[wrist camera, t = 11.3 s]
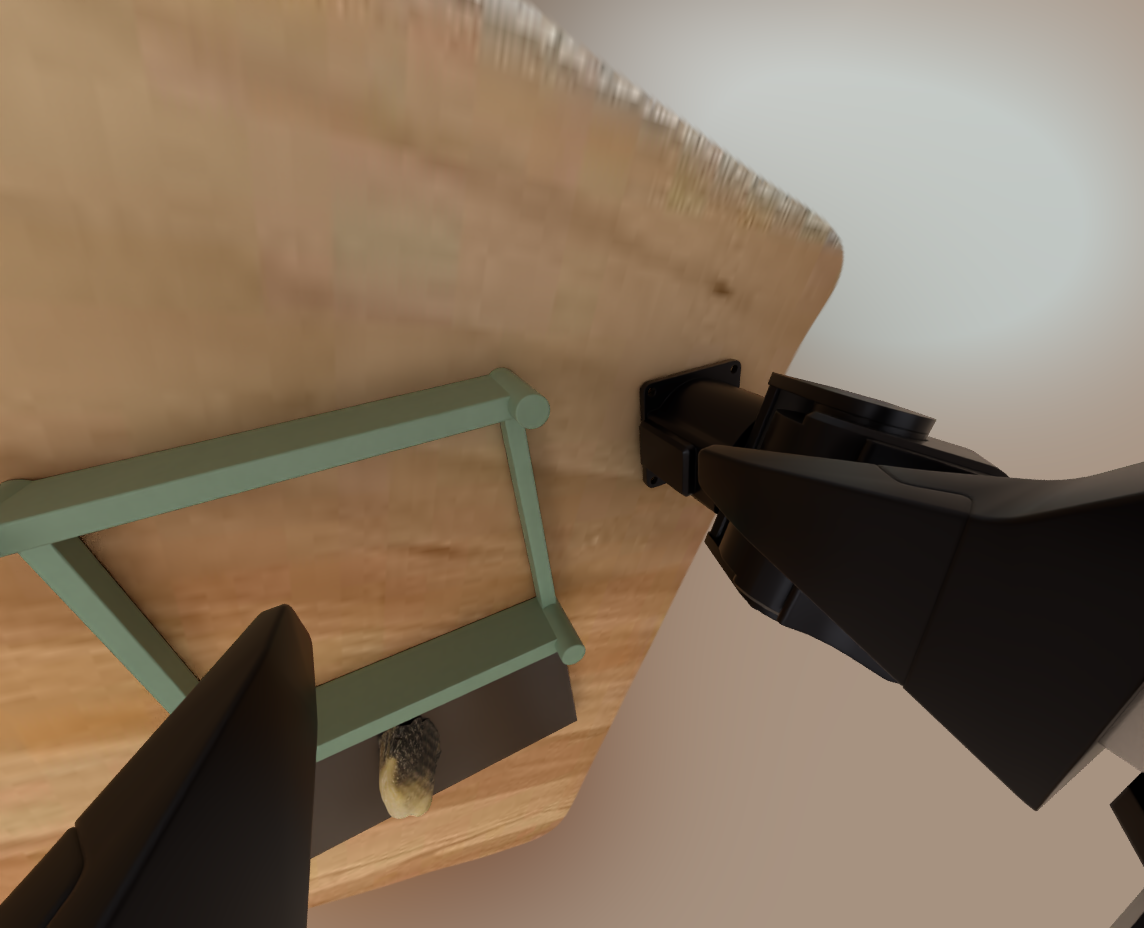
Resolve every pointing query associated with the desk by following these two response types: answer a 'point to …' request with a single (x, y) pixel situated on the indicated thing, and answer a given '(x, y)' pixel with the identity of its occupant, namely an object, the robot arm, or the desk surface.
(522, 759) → the desk surface
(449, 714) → the board
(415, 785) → the brazil nut
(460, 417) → the frame
